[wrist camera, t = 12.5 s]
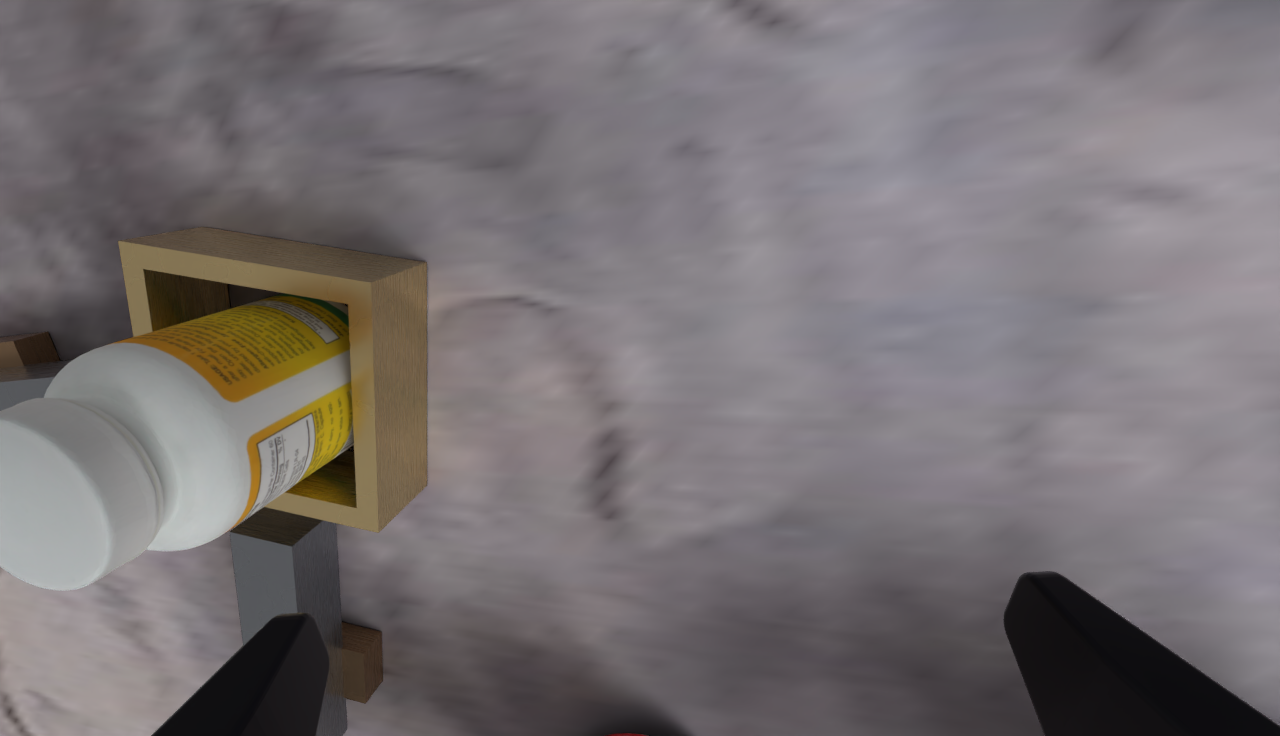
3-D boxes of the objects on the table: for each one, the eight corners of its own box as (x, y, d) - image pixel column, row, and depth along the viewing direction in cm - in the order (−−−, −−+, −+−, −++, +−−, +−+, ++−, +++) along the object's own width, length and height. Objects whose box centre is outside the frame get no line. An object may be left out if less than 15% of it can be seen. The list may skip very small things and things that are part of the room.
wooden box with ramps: (427, 724, 27) (381, 798, 24) (39, 618, 30) (-46, 673, 27) (426, 262, 21) (364, 285, 18) (-70, 183, 24) (-197, 191, 21)
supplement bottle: (422, 421, 23) (184, 604, 14) (295, 453, 24) (8, 638, 15) (355, 266, 21) (44, 358, 12) (225, 311, 23) (-133, 422, 14)
